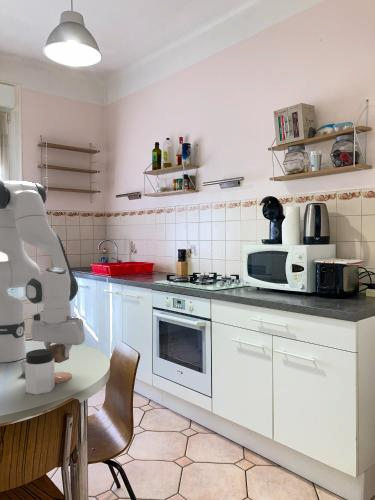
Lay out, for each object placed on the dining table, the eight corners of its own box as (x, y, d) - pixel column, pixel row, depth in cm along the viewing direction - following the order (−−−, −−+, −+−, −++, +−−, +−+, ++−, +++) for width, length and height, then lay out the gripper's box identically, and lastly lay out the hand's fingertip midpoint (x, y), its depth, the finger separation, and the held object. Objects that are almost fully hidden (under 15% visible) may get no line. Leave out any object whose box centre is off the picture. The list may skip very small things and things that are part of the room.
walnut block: (47, 361, 139) (47, 346, 139) (57, 357, 143) (57, 343, 143) (59, 363, 137) (59, 348, 137) (69, 358, 142) (68, 344, 141)
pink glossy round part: (38, 381, 138) (38, 378, 138) (56, 372, 146) (56, 370, 146) (60, 384, 135) (60, 382, 135) (77, 375, 143) (77, 373, 143)
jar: (49, 394, 126) (48, 356, 126) (22, 395, 126) (21, 356, 126) (57, 384, 135) (56, 348, 135) (32, 384, 135) (31, 348, 134)
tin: (18, 375, 144) (18, 362, 144) (28, 371, 149) (28, 358, 148) (29, 377, 142) (28, 364, 142) (38, 372, 147) (38, 360, 147)
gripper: (88, 315, 139) (89, 355, 139) (40, 312, 146) (41, 350, 147) (76, 318, 133) (77, 361, 133) (27, 315, 141) (28, 355, 141)
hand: (58, 355), depth 140 cm, fingers closed on walnut block, 5 cm apart
